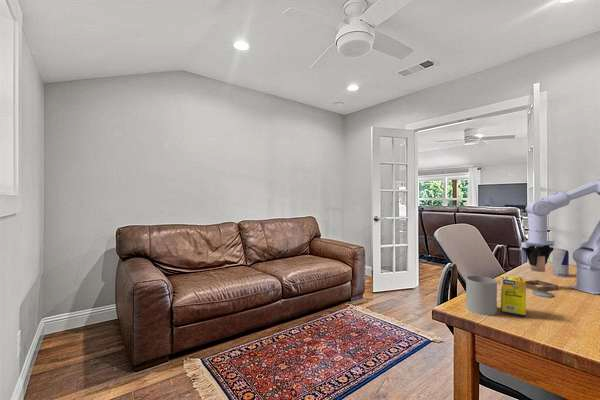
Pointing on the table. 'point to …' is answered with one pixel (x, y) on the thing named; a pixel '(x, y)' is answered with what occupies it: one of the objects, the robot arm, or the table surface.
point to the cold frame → (544, 286)
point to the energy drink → (561, 262)
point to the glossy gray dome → (542, 293)
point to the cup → (481, 295)
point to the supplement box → (513, 295)
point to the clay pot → (539, 264)
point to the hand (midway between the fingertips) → (537, 264)
